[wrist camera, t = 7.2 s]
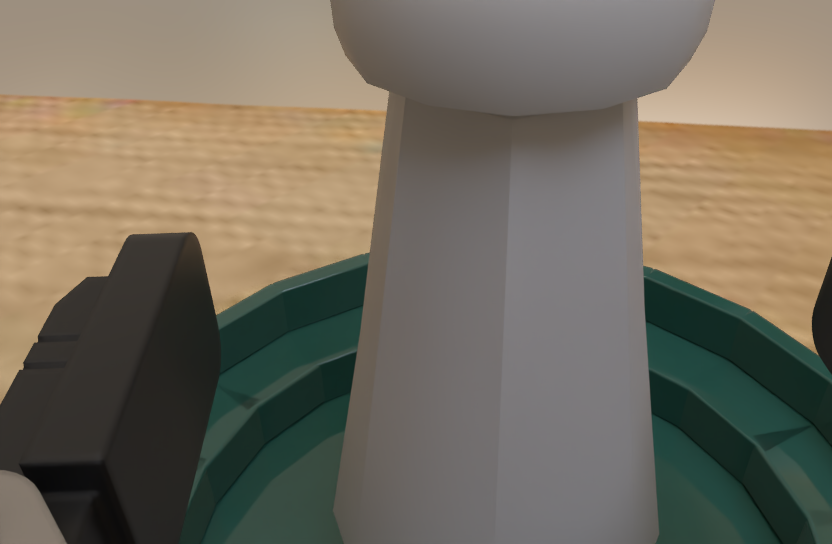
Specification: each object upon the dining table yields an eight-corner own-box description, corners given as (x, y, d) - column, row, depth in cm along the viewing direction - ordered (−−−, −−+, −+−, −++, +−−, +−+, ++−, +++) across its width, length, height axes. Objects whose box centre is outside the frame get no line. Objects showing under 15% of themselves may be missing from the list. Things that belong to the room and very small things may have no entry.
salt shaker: (514, 422, 19) (559, -204, 11) (702, 607, 15) (964, -164, 7) (295, 538, 17) (164, -165, 9) (451, 796, 13) (457, -72, 5)
